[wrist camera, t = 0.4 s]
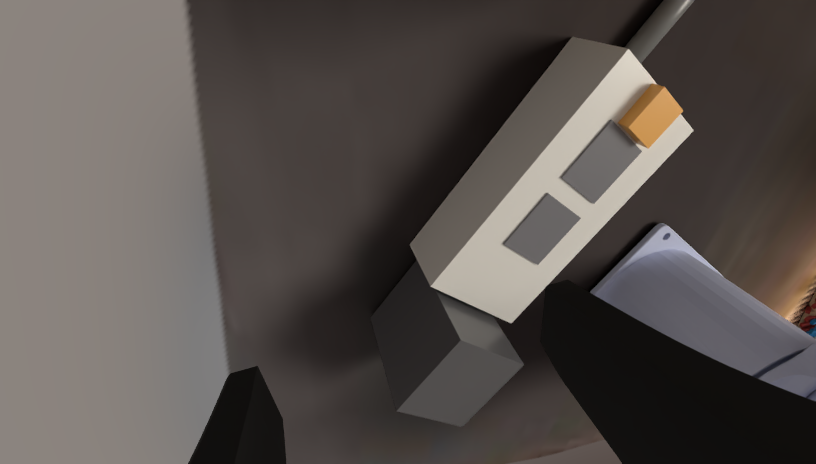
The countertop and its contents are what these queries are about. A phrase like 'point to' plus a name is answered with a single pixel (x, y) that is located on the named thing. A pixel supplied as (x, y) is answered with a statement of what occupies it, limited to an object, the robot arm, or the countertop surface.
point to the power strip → (554, 172)
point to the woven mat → (809, 318)
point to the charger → (440, 351)
